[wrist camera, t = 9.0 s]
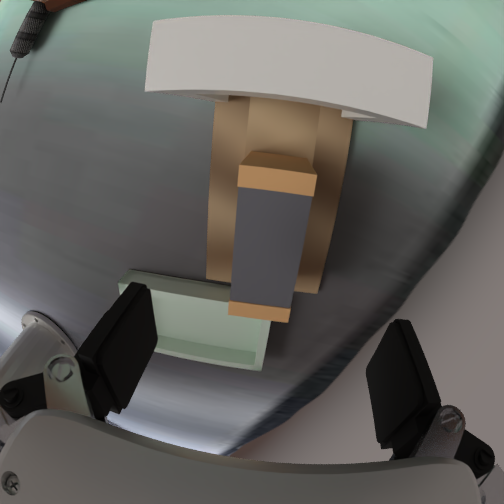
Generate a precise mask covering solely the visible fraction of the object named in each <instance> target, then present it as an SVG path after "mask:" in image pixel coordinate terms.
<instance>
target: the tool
mask: <svg viewBox="0 0 504 504" xmlns="http://www.w3.org/2000/svg"><path fill="white" fill-rule="evenodd" d="M32 1H34V3H33V4H32V6H31V8H30V10H29V12H28V13H27V15H26V17H25V19H24V21H23V23H22V25H21V27H20V29H19V31H18V33H17V35H16V37H15V40H14V42H13V44H12V46H11V49H10V52H11V54H12V57H15V61H14V63H13V66H12V68H11V71H10V74H9V76H8V79H7V82H6V85H5V88H4V91H3V94H2V98H1V101H0V102H2V99H3V96H4V93H5V90H6V87H7V84H8V81H9V78H10V75H11V73H12V70H13V67H14V65H15V62H16V60H17V58H23V57H24V56H26V55H27V54H29V52H30V50H31V48H32V46H33V44H34V42H35V39H36V37H37V35H38V33H39V31H40V29H41V28H42V26H43V24H44V22H45V20H46V18H47V17H48V15H49V13H50V11H51V12H57V11H59V10H62V9H64V8H67V7H69V6H72V5H75V4H78V3H81V2H84V1H86V0H32Z"/></svg>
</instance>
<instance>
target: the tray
mask: <svg viewBox="0 0 504 504" xmlns="http://www.w3.org/2000/svg"><path fill="white" fill-rule="evenodd" d="M131 282H137V283H142V284H146V286H147V288H148V289H150V290H151V296H152V303H153V310H154V317H155V323H156V329H157V335H158V342H157V345H156V348H155V350H154V352H158V353H162V354H166V355H171V356H175V357H180V358H184V359H189V360H194V361H199V362H205V363H210V364H216V365H222V366H228V367H234V368H241V369H248V370H255V371H261V370H262V365H263V360H264V355H265V350H266V345H267V340H268V334H269V329H270V324H271V321H269V320H262V319H254V318H247V317H240V316H233V315H228V306H229V298H230V290H231V286H229V285H222V284H215V283H209V282H202V281H196V280H190V279H183V278H177V277H171V276H165V275H159V274H153V273H148V272H142V271H136V270H131V269H129V270H128V271H127V272H126V274H125V275H124V276H123V277H122V278H121V279H120V281H119V282H118V286H119V292H120V295H121V294H122V293H123V291H124V290H125V289H126V288H127V286H128V285H129V284H130V283H131Z"/></svg>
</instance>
